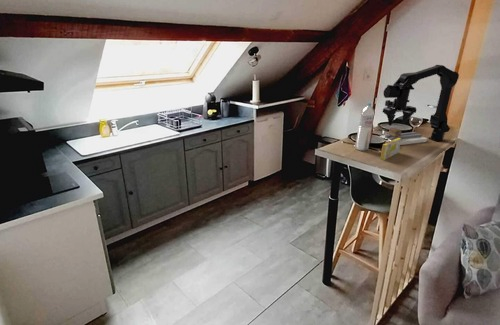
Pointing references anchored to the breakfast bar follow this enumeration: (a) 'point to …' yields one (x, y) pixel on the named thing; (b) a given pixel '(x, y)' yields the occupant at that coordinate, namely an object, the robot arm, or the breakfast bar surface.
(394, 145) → the candy box
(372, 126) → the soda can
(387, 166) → the breakfast bar surface
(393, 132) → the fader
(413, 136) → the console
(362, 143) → the water bottle
